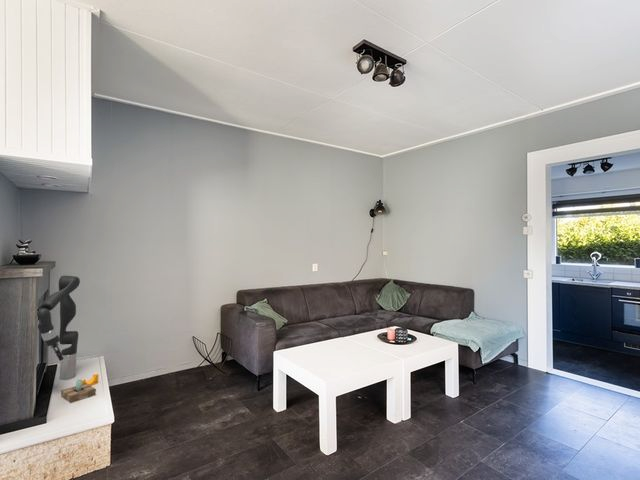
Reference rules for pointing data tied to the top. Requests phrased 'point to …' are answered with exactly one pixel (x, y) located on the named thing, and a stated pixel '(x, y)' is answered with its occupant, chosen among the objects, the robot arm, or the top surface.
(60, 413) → the top surface
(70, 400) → the walnut socket block
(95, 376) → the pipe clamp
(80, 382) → the teal peg
